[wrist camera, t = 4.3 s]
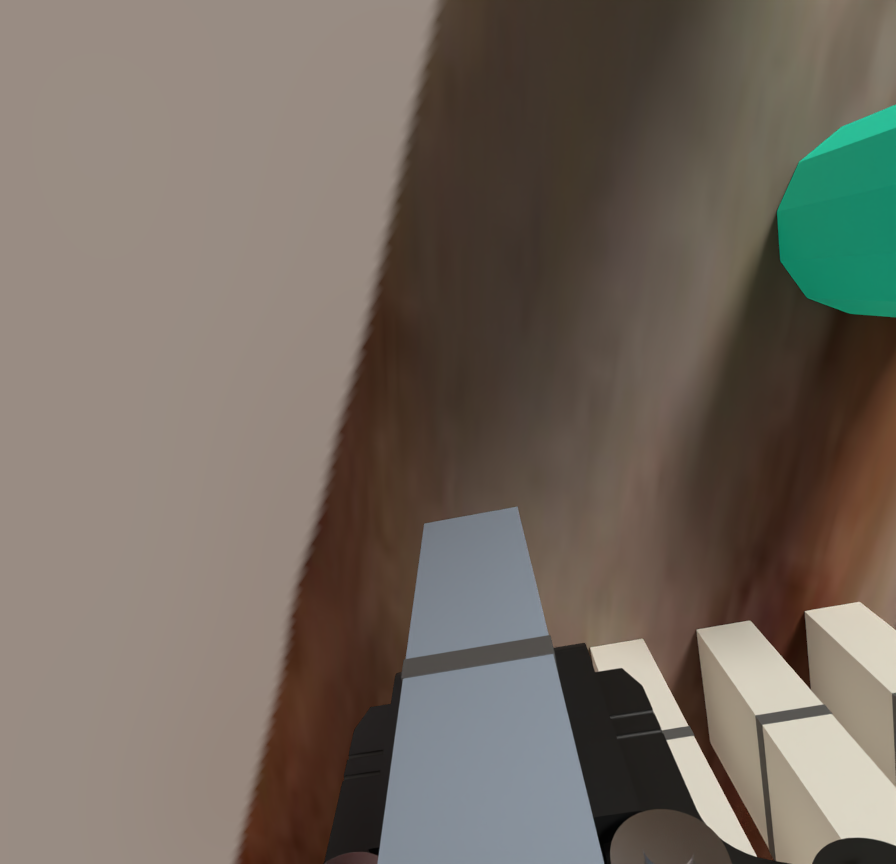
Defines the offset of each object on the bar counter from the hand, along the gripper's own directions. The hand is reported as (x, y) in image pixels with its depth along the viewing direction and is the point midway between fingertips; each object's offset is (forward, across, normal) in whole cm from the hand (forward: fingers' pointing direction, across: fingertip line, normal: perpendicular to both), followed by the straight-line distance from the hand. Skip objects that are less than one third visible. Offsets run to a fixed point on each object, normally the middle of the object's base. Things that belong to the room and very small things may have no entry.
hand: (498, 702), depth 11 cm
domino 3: (+11, -8, +10) cm, 17 cm away
